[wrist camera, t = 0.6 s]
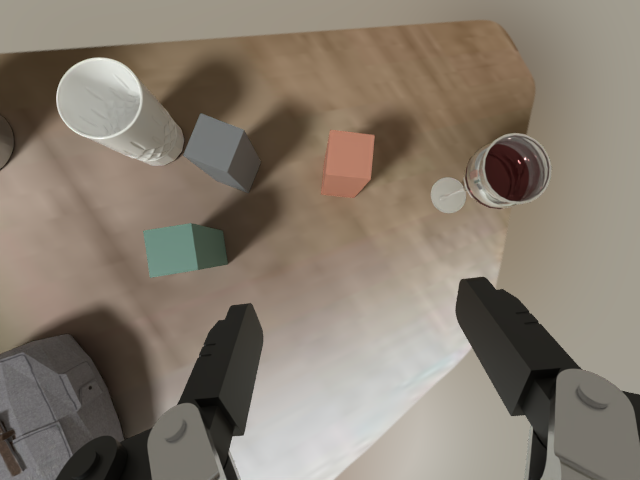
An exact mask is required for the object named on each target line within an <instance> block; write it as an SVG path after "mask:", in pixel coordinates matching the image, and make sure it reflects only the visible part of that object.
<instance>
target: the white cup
mask: <svg viewBox="0 0 640 480" xmlns="http://www.w3.org/2000/svg"><path fill="white" fill-rule="evenodd" d="M56 103H57V108H58V111H59V114H60V116H61V118H62V120H63V121H64V122H65V124H66V125H67V126H68V127H69V128H70V129H72V130H73V131H74V132H76V133H77V134H79V135H81V136H84V137H86V138H88V139H90V140H93V141H95V142H97V143H99V144H102V145H104V146H106V147H108V148H110V149H112V150H114V151H117V152H119V153H122V154H124V155H126V156H129V157H131V158H134V159H138V160H140V161H143V162H145V163H147V164H150V165H152V166H161V165H166V164H168V163H170V162H172V161H174V160H175V159H176V158H177V157H178V156H179V154H180V153H181V152H182V149H183V144H184V137H183V133H182V129H181V128H180V127H179V126H178V125H177V123H176V122H175V121H174V120H173V119H172V118H171V116H170V114H169V113H168V112H167V110H166V109H165V108H164V107H163V106H162V104H161V103H160V102H159V101H158V100H157V98H156V97H155V96H154V95H153V94H152V93H151V92H150V91H149V90H148V89H147V87H146V86H145V85H144V84H143V83H142V82H141V81H140V80H139V78H138V77H137V76H136V75H135V74H134V73H133V72H132V71H131V70H130V69H129V68H128V67H127V66H125V65H124V64H122V63H120V62H118V61H116V60H113V59H109V58H90V59H86V60H83V61H81V62H79V63H77V64H75V65H74V66H72V67H71V68H70V69H69V70H68V71H67V72H66V73H65V74H64V76H63V77H62V79H61V81H60V83H59V85H58V89H57V94H56Z"/></svg>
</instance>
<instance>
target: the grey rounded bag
mask: <svg viewBox="0 0 640 480" xmlns="http://www.w3.org/2000/svg"><path fill="white" fill-rule="evenodd" d="M107 435H108V436H112V437H113V438H115V439H116V440H117V441H118V442H121V441H124V437H123V434H122V430H121V426H120V422H119V419H118V417H117V414H116V411H115V409H114V406H113V404H112V401H111V398H110V394H109V391H108V388H107V386H106V384H105V382H104V380H103V379H102V377H101V375H100V373H99V372H98V370H97V368H96V366H95V365H94V363H93V361H92V359H91V358H90V357H89V356H88V355H87V354H86V353H85V352H84V351H83V349H82V348H81V347H80V346H79V344H78V343H77V342H76V341H75V339H74V338H73V337H72V336H71V335H69V334H64V335H59V336H55V337H50V338H46V339H41V340H37V341H32V342H30V343H27V344H24V345H22V346H19V347H17V348H14V349H12V350H9V351H6V352H4V353H2V354H0V480H56V478H57V476H58V475H59V473H60V471H61V470H62V468H63V467H64V465H65V464H66V463H67V461H68V460H69V459H70V458H71V457H72V456H73V454H74V453H75V452H77V451H78V450H79V449H80V448H81V447H82V446H84V445H85V444H86V443H88V442H89V441H91V440H93V439H95V438H97V437H100V436H107Z"/></svg>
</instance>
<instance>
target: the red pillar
mask: <svg viewBox="0 0 640 480" xmlns="http://www.w3.org/2000/svg"><path fill="white" fill-rule="evenodd" d="M374 138H375V135H370V134H361V133H353V132H344V131H336V130H330V134H329V139H328V144H327V149H326V155H325V160H324V169H323V179H322V189H321V194H322V195H331V196H341V197H350V198H354V197H355V196H356V195H357V194H358V193H359V192H360V191H361V190H362V188H363V187H364V186H365V185H366V184H367V183H368V182H369V181H370V180H371V171H372V160H373V149H374Z"/></svg>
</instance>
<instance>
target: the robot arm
mask: <svg viewBox="0 0 640 480" xmlns="http://www.w3.org/2000/svg"><path fill="white" fill-rule="evenodd" d="M13 146H14V137H13V132H12V130H11V127H10V125H9V124H8V122H7V121H6V119H5V118H4V117H2V116H1V115H0V169H1V168H2V167H3V166H4V165H5V164H6V162H7V161H8V160H9V158H10V156H11V154H12V150H13ZM456 317H457V320H458V323H459V325H460V327H461V329H462V330H463V332H464V334H465V336H466V337H467V339H468V341H469V343H470V344H471V346H472V348H473V349H474V351H475V353H476V355H477V357H478V358H479V360H480V362H481V364H482V366H483V367H484V369H485V371H486V373H487V375H488V376H489V378H490V380H491V381H492V383H493V385H494V387H495V388H496V390H497V392H498V394H499V396H500V397H501V399H502V401H503V403H504V405H505V406H506V408H507V410H508V411H509V413H510V415H511V416H518V415H526V417H527V419H528V421H529V422H530V424H531V427H530V430H529V439H528V449H527V458H526V468H525V478H524V480H640V395H639V394H634V393H629V392H625V391H621V390H620V389H619V388H617V387H616V386H615V385H614V384H612V383H611V382H609V381H608V380H606V379H605V378H603V377H601V376H599V375H597V374H594V373H592V372H589V371H586V370H582V369H581V368H580V367H579V366H578V365H577V364H576V363H575V362H574V361H573V359H572V358H571V357H570V356H569V355H568V354H567V353H566V352H565V351H564V350H563V348H562V347H561V346H560V345H559V344H558V343H557V342H556V341H555V339H554V338H553V337H552V336H551V335H550V334H549V333H548V332H547V330H546V329H545V328H544V327H543V326H542V325H541V324H539V323H538V320H537V319H536V318H535V317H534V316H533V315H532V314H530V313H529V311H528V309H527V308H526V307H525V306H524V305H523V304H522V303H521V302H520V300H519V299H517V298H516V297H514V296H513V295H511V294H509V293H508V292H506V291H505V290H503V289H500V290H496V289H495V288H494V287H493V285H492V284H491V283H490V282H489V281H488V279H486V278H485V277H477V278H468V279H462V280H461V281H460V283H459V289H458V296H457V302H456ZM262 346H263V331H262V327H261V325H260V322H259V320H258V317H257V315H256V312H255V310H254V307H253V305H252V304H251V303H249V304H240V305H232V306H231V307H230V308H229V311H228V313H227V316H226V318H225V320H219V321H218V322H217V323H216V324H215V326H214V327H213V328H212V329H211V330H210V331H209V333H208V336H207V338H206V340H205V343H204V347H202V349H201V352H200V354H199V358H198V359H197V361H196V363H195V366H194V368H193V370H192V373H191V375H190V377H189V380H188V382H187V384H186V387H185V389H184V391H183V394H182V396H181V398H180V400H179V402H178V404H177V405H176V406H174V407H173V408H171V409H169V410H168V411H167V412H165V413H164V414H163V415H162V416H161V417H160V418H159V420H158V421H157V422H156V424H155V425H154V427H153V428H151V429H149V430H147V431H145V432H142V433H140V434H138V435H135V436H133V437H131V438H128V439H126V440H124V441H121V442H118V441H117V440H116V439H115V438H113V437H112V436H108V435H107V436H100V437H97V438H95V439H93V440H91V441H89V442H88V443H86V444H85V445H84V446H82V447H81V448H80V449H79V450H78V451H77V452H75V453H74V454H73V456H72V457H71V458H70V459H69V460H68V461H67V463H66V464H65V465H64V467H63V468H62V470H61V471H60V473H59V475H58V476H57V478H56V480H241V478H240V476H239V473H238V471H237V468H236V465H235V463H234V460H233V458H232V455H231V453H230V450H229V448H230V444H231V440H232V436H242V435H244V432H245V427H246V422H247V417H248V413H249V408H250V403H251V398H252V394H253V389H254V384H255V379H256V374H257V370H258V365H259V360H260V355H261V351H262Z"/></svg>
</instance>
